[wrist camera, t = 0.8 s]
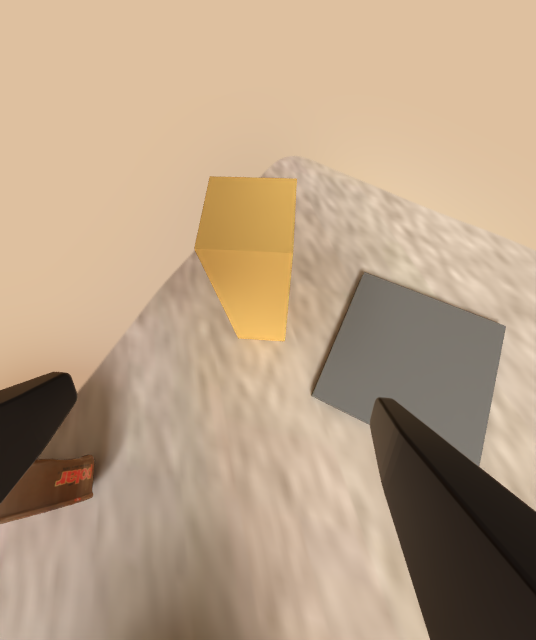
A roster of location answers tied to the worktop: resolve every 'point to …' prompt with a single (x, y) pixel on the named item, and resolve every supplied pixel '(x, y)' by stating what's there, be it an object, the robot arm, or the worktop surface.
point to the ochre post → (250, 251)
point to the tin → (49, 487)
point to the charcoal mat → (415, 362)
